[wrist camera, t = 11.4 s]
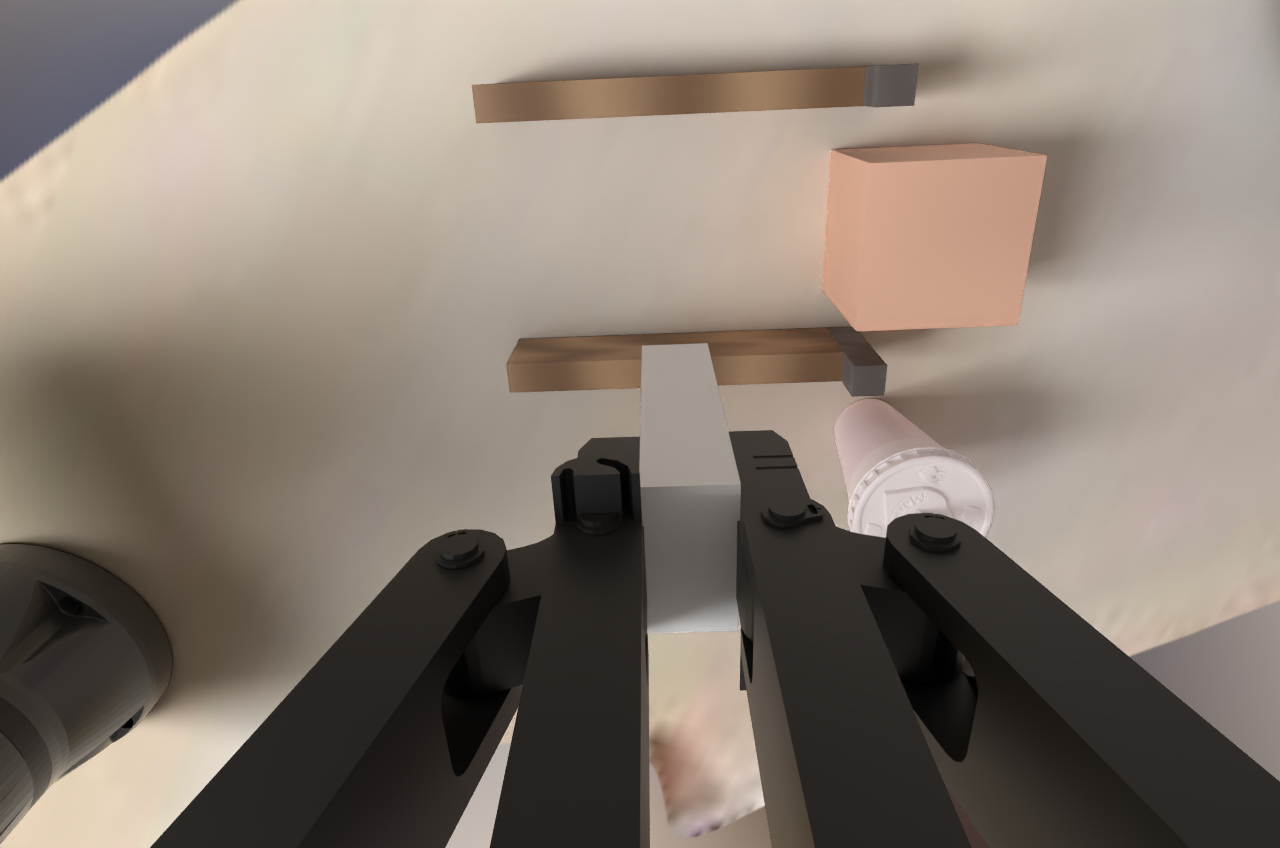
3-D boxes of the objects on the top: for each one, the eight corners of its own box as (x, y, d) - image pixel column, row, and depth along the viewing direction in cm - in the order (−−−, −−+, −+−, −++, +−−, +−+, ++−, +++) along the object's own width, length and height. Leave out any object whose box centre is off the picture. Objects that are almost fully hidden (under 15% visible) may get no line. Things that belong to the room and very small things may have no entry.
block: (822, 291, 39) (856, 331, 32) (830, 149, 36) (870, 163, 30) (956, 285, 39) (1017, 324, 32) (976, 142, 36) (1047, 155, 29)
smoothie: (862, 354, 40) (961, 478, 27) (947, 416, 42) (1079, 562, 29) (786, 440, 42) (845, 592, 30) (870, 497, 44) (960, 665, 31)
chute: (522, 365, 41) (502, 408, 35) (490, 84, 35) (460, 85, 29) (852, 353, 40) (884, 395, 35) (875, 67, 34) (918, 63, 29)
